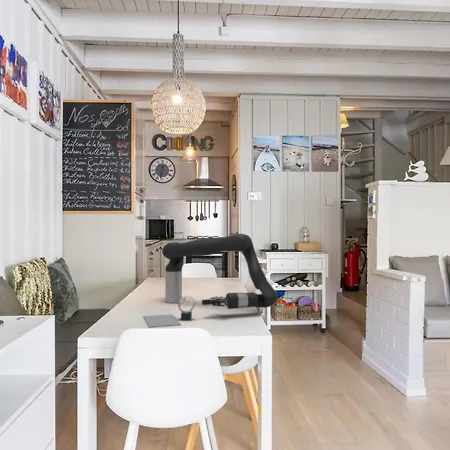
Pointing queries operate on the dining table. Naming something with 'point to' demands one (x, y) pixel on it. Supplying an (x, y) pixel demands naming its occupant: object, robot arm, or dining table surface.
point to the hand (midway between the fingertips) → (202, 302)
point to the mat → (161, 320)
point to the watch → (186, 314)
